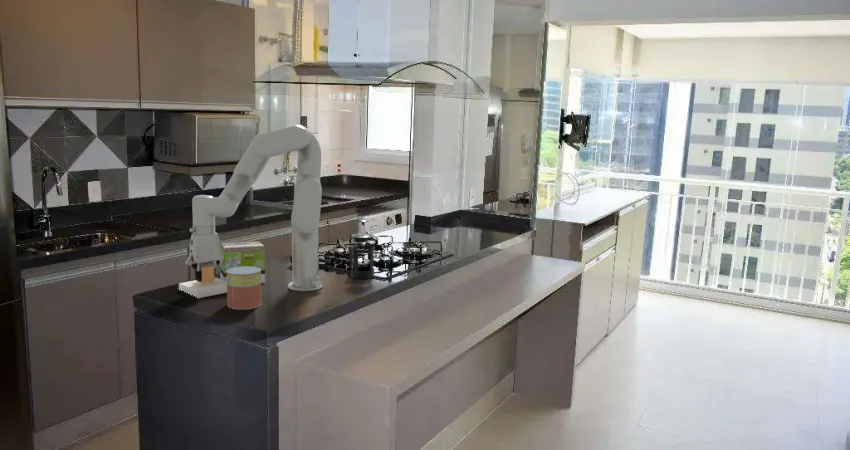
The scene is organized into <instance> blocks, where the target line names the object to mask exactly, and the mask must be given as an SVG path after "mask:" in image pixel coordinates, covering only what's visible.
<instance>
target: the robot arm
mask: <svg viewBox="0 0 850 450" xmlns="http://www.w3.org/2000/svg"><path fill="white" fill-rule="evenodd" d="M293 152H296V153H297V161H296V162H297V164H296V165H297V166H296V176H295V182H294V186H293V187H294V190H293V191H294V192H293V193H294V194H293V204H292V205H293V207H292V211H291V217H290V218H291V219H290V220H291V255H292V263H291V266H292V267H291V269H292V281H291V282H289V283H288V285H287V288H288V289H289V290H291V291H294V292H295V291H296V292H312V291H317V290H320V289H322V288H323V286H324V285H323V284H324V283H323V281H322V280H320V276H319V268H318V264H319V262H318V258H319V224H320V223H319V222H320V218H321V206H322V195H323V194H322V193H323V188H322V184H321V171H322V150H321V146H320V143H319V141H318V139H317V137H316V136H315V135H314V133H312V131H310V130H309V129H307V128H306V127H305V126H303V125H302V124H292V125H290V126H287V127H285V128H280V129H277V130H276V129H275V130H272V131H267V132H266V131H265V132H259V133H257V135H255V136H254V138H253V139H252V141H251V143H250V144H249V145H248V148H247V149H246V151H245V152H244V154H243V155H242V157H241V159H240V160H239V161H238V162H237V164H236V166H235V168H234V170H233V173H232V176H231V177H230V179H229V181H228V182H227V184H225V187H224V188H223V190H222V192H221V193H220V195H219V196H213V195H207V194H200V195H199V194H198V195H194V196H193V197H192V199H191V202H192V203H191V204H192V205H191V207H192V227H190V228H189V232H190V233H191V236H190V241H189V256H187V258H186V260H185V261H184V262H185V264H186V265H188V266H189V267H190V268H192V269H193V270H194V278H195V280H197V281H199V282H201V281H202V274H201V271H200V267H201V263H205V262H213V263H215V266H214V279H215V277H216V272H217V271H216V269H217V267H218V265H219V264H220V261H222V260H223V259H224V257H223V255H222V254H221V249H220V244H221V243H220V238H219V234H218V232H216V217H219V218H229V217H232V216H233V215H234V214H235V213H236V211H237V209H238V207H239V205H240V204H241V203H242V201H243V200H244V197H245V196H246V194H247V192H248V191H249V190H250V189H251V187H252V186H253V185H254V184H255V183H256V182H257V181H258V179H259V177H260V176H261V175H262V173H263V171H264V169H265V168H266V166H267V165H268V163H269V162H270V160H271V159H272V157H277V156H280V155H285V154H288V153H293Z"/></svg>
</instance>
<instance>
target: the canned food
mask: <svg viewBox="0 0 850 450" xmlns="http://www.w3.org/2000/svg"><path fill="white" fill-rule="evenodd" d="M226 272H227V292H226V296H227V299H226V302H227V303H226V305H227V308H229V309H231V308H232V310H240V311H241V310H243V311H244V310H245V311H246V310H252V309H253V310H254V309H257V308H259V307H261V306H262V304H263V302H262V283H261V269H260V268H258V267H253V266H240V267H233V268H230V269H227V270H226Z"/></svg>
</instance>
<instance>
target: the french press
mask: <svg viewBox="0 0 850 450" xmlns="http://www.w3.org/2000/svg"><path fill="white" fill-rule="evenodd" d="M357 222H359V223H361V225H362V233H361V232H360V233H354V234H352V235H351V238H352V242H354V243H360V245H351V246H349V247H348V267H349V268H350V269H351V275H350V278H351V279H353V280H358V281H359V280H360V281H363V280H364V281H365V280H372V279H374V278H375V277H374V275H375V268H374V261H375V260H374V252H375V246H372V245H367V244H364V243H365V242H368V241H369V240H370V241H374V238H375V235H374V234H373V233H365V232H364V231H365V229H364V227H365V223H369V220H368V219H359V220H357ZM359 254H367V258H364V257H362V258H359ZM373 277H374V278H373Z"/></svg>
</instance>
